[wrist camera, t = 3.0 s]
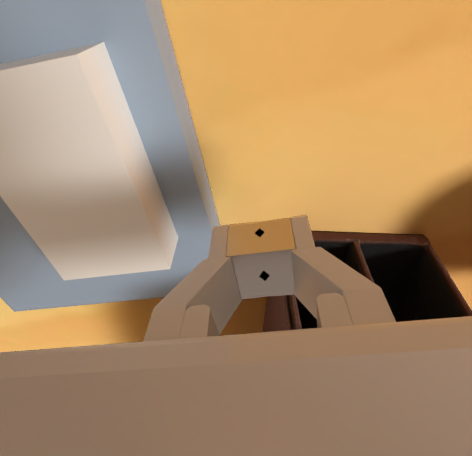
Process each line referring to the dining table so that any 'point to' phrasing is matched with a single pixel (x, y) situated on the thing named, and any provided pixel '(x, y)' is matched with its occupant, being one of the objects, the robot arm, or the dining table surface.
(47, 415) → the robot arm
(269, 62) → the dining table surface
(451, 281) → the letter holder
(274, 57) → the dining table surface
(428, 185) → the dining table surface
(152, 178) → the tile
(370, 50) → the dining table surface
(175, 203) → the panel
